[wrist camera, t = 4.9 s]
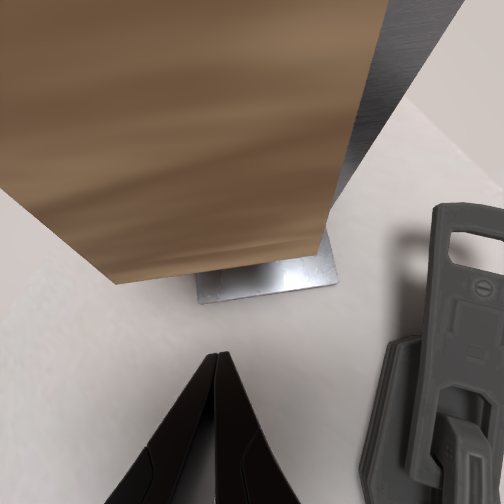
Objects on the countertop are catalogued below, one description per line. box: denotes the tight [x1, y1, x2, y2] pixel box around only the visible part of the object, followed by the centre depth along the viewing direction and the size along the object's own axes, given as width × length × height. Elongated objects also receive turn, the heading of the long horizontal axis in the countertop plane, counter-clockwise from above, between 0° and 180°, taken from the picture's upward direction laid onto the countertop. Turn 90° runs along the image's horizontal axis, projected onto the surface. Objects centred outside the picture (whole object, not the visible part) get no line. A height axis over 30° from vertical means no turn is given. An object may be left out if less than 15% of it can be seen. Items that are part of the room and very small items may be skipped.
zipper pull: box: [359, 202, 504, 504], centre depth 18 cm, size 9×7×25 cm
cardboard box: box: [0, 0, 389, 285], centre depth 10 cm, size 10×10×12 cm
